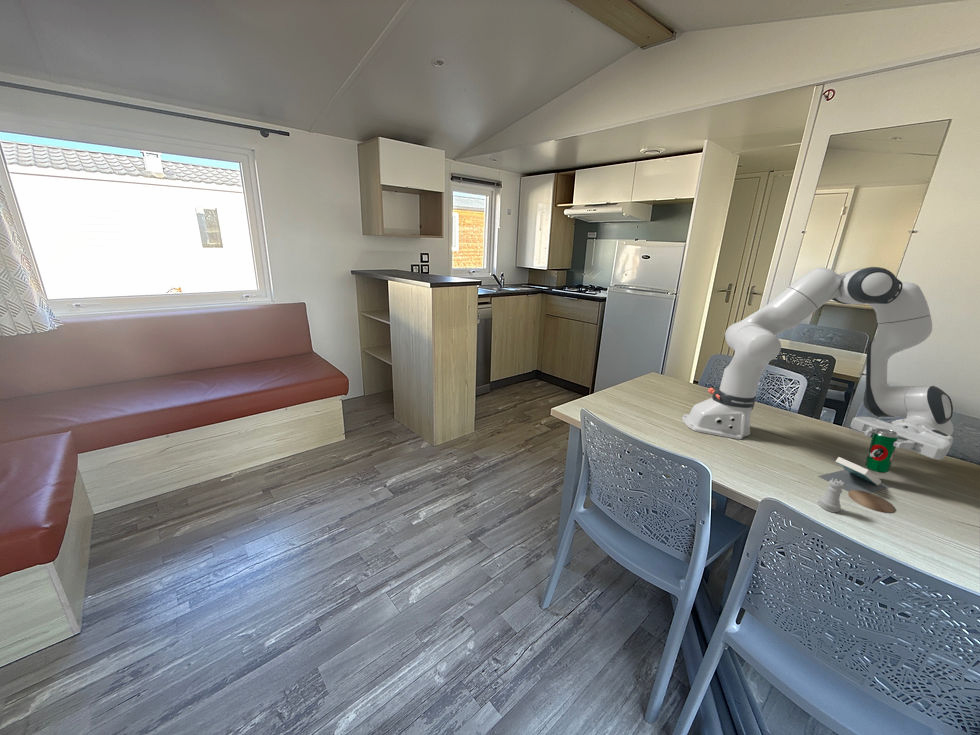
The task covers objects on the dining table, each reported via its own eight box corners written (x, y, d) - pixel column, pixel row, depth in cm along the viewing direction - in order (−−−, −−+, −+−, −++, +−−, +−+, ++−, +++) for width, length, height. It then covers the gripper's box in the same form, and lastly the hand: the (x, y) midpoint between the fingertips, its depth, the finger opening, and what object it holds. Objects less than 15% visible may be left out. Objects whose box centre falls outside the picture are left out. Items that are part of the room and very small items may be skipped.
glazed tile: (852, 468, 115) (838, 456, 110) (881, 481, 109) (868, 469, 104) (849, 472, 115) (835, 461, 110) (877, 486, 109) (864, 475, 104)
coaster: (863, 511, 98) (864, 508, 98) (839, 490, 107) (840, 488, 106) (903, 516, 97) (904, 514, 96) (875, 495, 105) (877, 492, 105)
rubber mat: (848, 469, 117) (849, 468, 117) (889, 488, 108) (890, 487, 108) (817, 477, 112) (817, 476, 112) (857, 498, 103) (858, 496, 103)
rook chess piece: (812, 502, 101) (822, 476, 98) (827, 501, 101) (837, 476, 99) (828, 513, 97) (838, 486, 94) (844, 513, 97) (854, 486, 95)
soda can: (892, 475, 108) (903, 435, 105) (869, 471, 110) (879, 432, 107) (883, 467, 112) (893, 429, 109) (861, 464, 114) (870, 426, 111)
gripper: (869, 409, 122) (842, 414, 117) (962, 440, 103) (934, 446, 99) (862, 427, 124) (836, 432, 119) (952, 460, 105) (925, 468, 101)
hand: (881, 439), depth 109 cm, fingers closed on soda can, 5 cm apart
